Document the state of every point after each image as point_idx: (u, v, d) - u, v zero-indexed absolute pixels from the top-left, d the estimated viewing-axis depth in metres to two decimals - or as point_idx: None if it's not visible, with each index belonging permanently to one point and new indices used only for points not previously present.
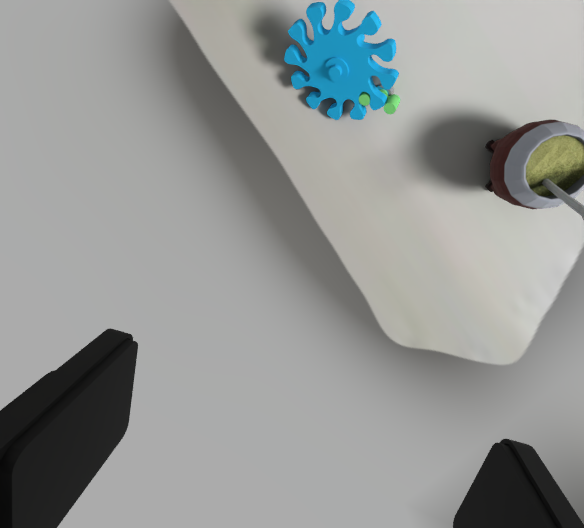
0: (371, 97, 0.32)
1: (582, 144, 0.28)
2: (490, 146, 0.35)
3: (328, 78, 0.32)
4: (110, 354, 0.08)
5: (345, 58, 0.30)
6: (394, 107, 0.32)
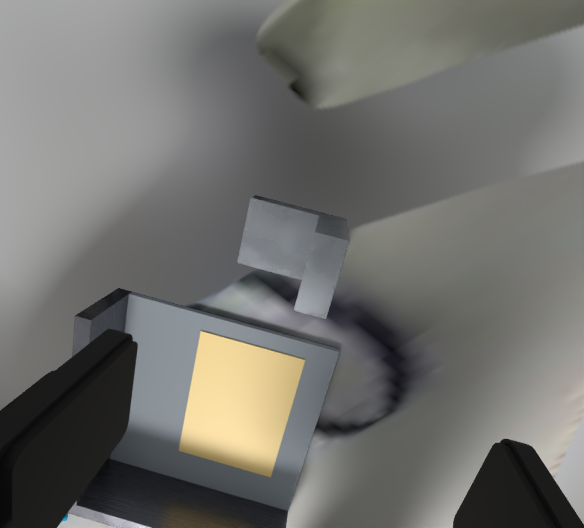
0: None
1: None
2: None
3: None
4: (110, 354, 0.08)
5: None
6: None
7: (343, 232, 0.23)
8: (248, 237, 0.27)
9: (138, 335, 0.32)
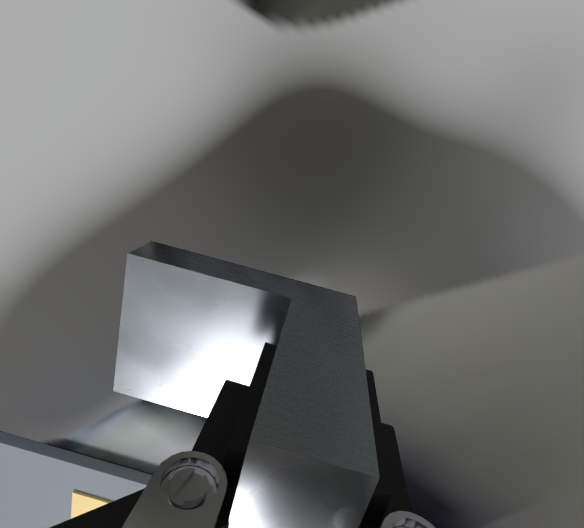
0: None
1: None
2: None
3: None
4: None
5: None
6: None
7: (353, 392, 0.07)
8: (131, 340, 0.12)
9: None
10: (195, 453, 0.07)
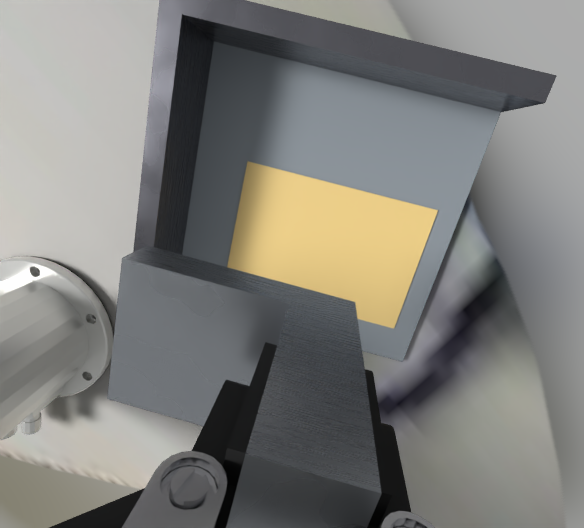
0: None
1: None
2: None
3: None
4: None
5: None
6: None
7: (353, 401, 0.07)
8: (126, 347, 0.12)
9: (434, 119, 0.23)
10: (195, 453, 0.07)
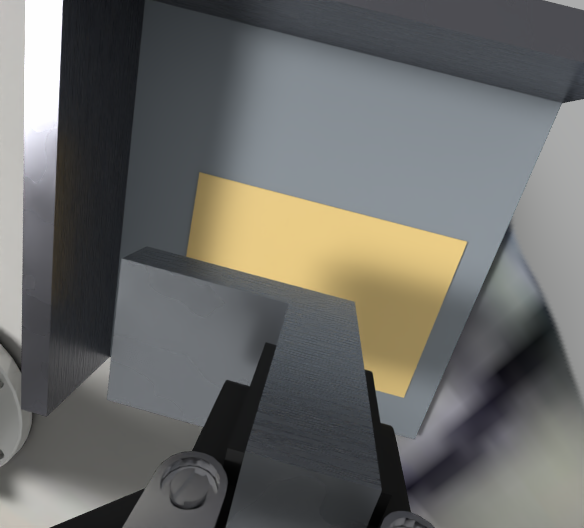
0: None
1: None
2: None
3: None
4: None
5: None
6: None
7: (353, 399, 0.07)
8: (125, 347, 0.12)
9: (465, 113, 0.16)
10: (195, 453, 0.07)
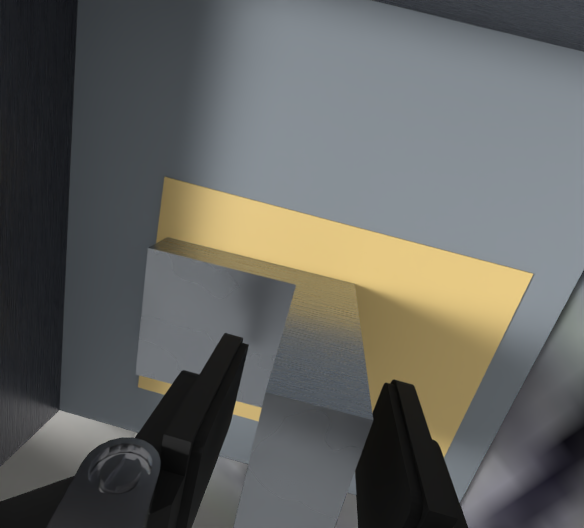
0: None
1: None
2: None
3: None
4: (235, 356, 0.09)
5: None
6: None
7: (352, 358, 0.08)
8: (152, 327, 0.13)
9: (540, 92, 0.11)
10: (131, 439, 0.06)
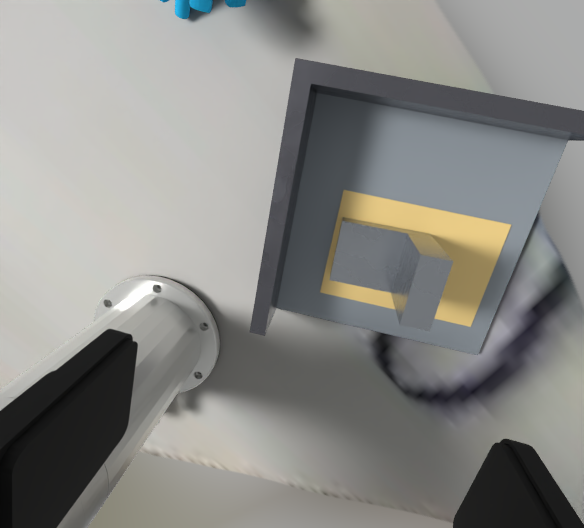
0: None
1: None
2: None
3: None
4: (110, 354, 0.08)
5: None
6: None
7: (441, 251, 0.25)
8: (340, 256, 0.29)
9: (509, 148, 0.27)
10: None
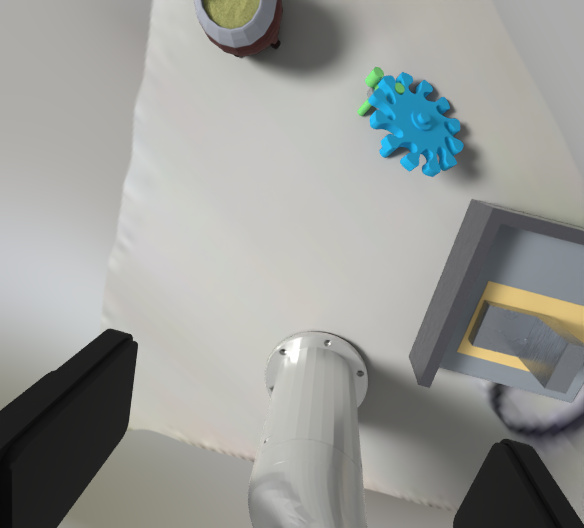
0: (393, 87, 0.33)
1: (213, 21, 0.29)
2: (276, 41, 0.35)
3: (428, 116, 0.33)
4: (110, 354, 0.08)
5: (413, 125, 0.32)
6: (374, 71, 0.32)
7: (574, 337, 0.35)
8: (483, 329, 0.40)
9: None
10: None
